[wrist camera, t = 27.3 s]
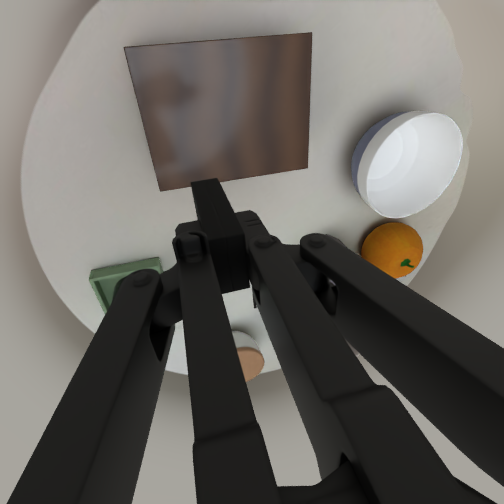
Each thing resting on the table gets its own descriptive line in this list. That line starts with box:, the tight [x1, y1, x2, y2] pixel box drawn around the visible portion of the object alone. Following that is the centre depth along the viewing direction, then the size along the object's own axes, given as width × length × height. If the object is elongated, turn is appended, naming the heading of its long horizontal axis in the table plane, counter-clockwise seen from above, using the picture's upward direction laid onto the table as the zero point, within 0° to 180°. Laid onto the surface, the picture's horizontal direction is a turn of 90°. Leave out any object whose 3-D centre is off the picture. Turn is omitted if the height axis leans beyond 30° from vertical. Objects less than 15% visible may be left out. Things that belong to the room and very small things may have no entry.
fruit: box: [361, 222, 423, 278], centre depth 60 cm, size 12×12×10 cm
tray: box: [89, 257, 163, 314], centre depth 54 cm, size 11×11×3 cm
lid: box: [124, 32, 312, 191], centre depth 37 cm, size 20×16×1 cm
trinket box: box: [232, 331, 264, 382], centre depth 65 cm, size 11×11×9 cm
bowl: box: [351, 110, 463, 218], centre depth 49 cm, size 16×16×10 cm
